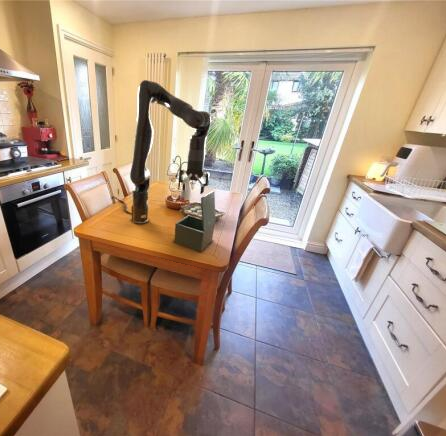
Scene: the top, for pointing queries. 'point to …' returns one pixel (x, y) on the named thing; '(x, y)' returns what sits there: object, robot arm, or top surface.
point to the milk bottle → (186, 194)
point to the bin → (193, 233)
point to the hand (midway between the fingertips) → (192, 192)
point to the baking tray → (198, 210)
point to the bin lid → (208, 210)
